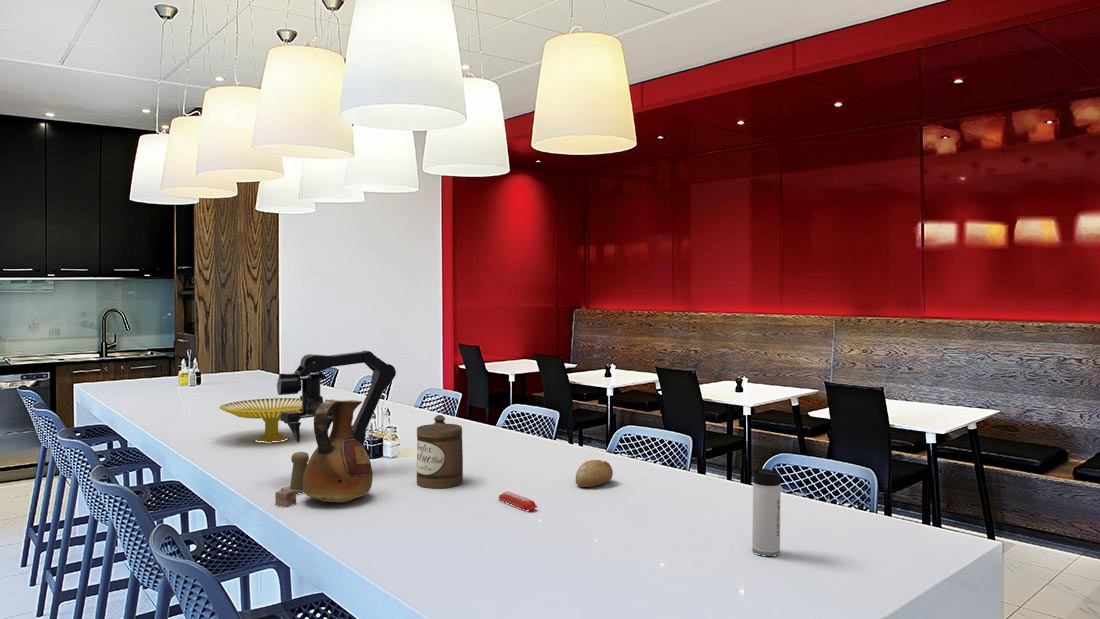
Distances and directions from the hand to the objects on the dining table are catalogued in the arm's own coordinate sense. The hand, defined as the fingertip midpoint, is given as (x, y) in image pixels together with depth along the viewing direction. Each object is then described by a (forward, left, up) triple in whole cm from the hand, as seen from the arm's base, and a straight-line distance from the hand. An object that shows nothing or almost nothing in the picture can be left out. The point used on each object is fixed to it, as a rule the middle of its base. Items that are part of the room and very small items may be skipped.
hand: (311, 440), depth 239 cm
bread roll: (-60, +71, -13) cm, 94 cm away
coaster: (+9, +9, -13) cm, 18 cm away
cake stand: (-23, -73, -13) cm, 78 cm away
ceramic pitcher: (+6, +26, -13) cm, 30 cm away
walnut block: (+19, +20, -13) cm, 31 cm away
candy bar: (-26, +69, -14) cm, 75 cm away
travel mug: (-39, +140, -13) cm, 146 cm away
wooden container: (-27, +33, -13) cm, 45 cm away
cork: (+9, +9, -12) cm, 18 cm away
